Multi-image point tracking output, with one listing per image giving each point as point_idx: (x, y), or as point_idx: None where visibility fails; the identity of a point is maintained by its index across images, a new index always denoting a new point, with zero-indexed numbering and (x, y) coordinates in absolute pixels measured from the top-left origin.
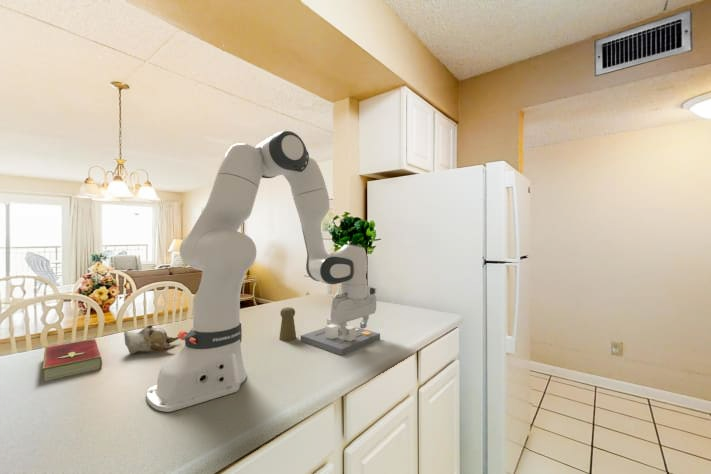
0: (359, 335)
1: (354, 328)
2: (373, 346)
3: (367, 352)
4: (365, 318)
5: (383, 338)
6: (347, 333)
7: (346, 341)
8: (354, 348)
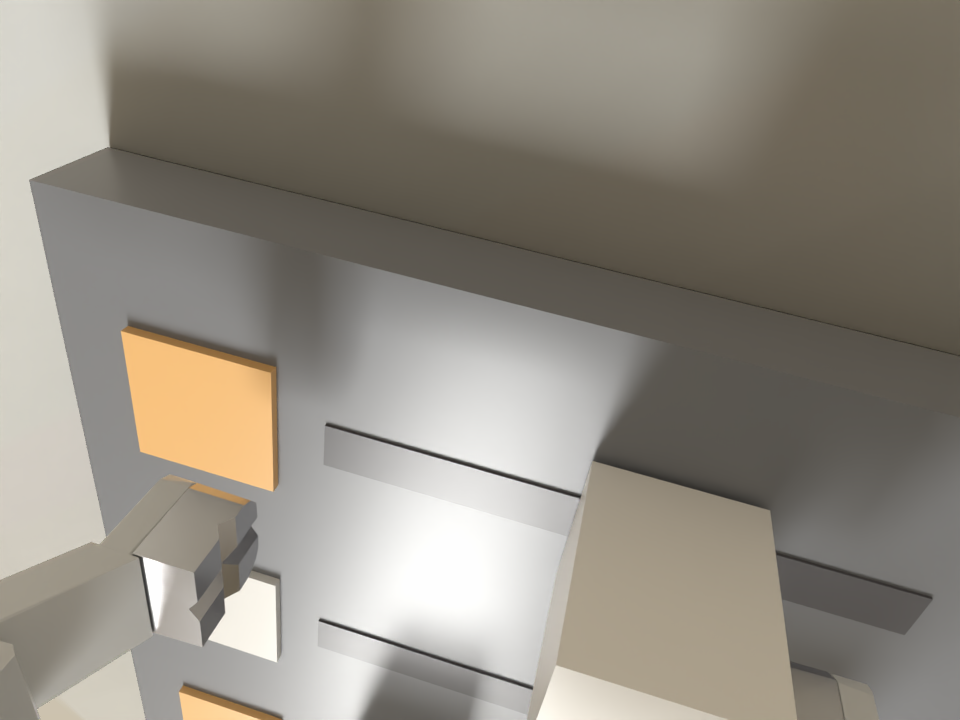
0: (373, 466)
1: (612, 666)
2: (485, 87)
3: (884, 36)
4: (17, 656)
5: (36, 109)
6: (808, 683)
7: (784, 556)
8: (852, 344)
